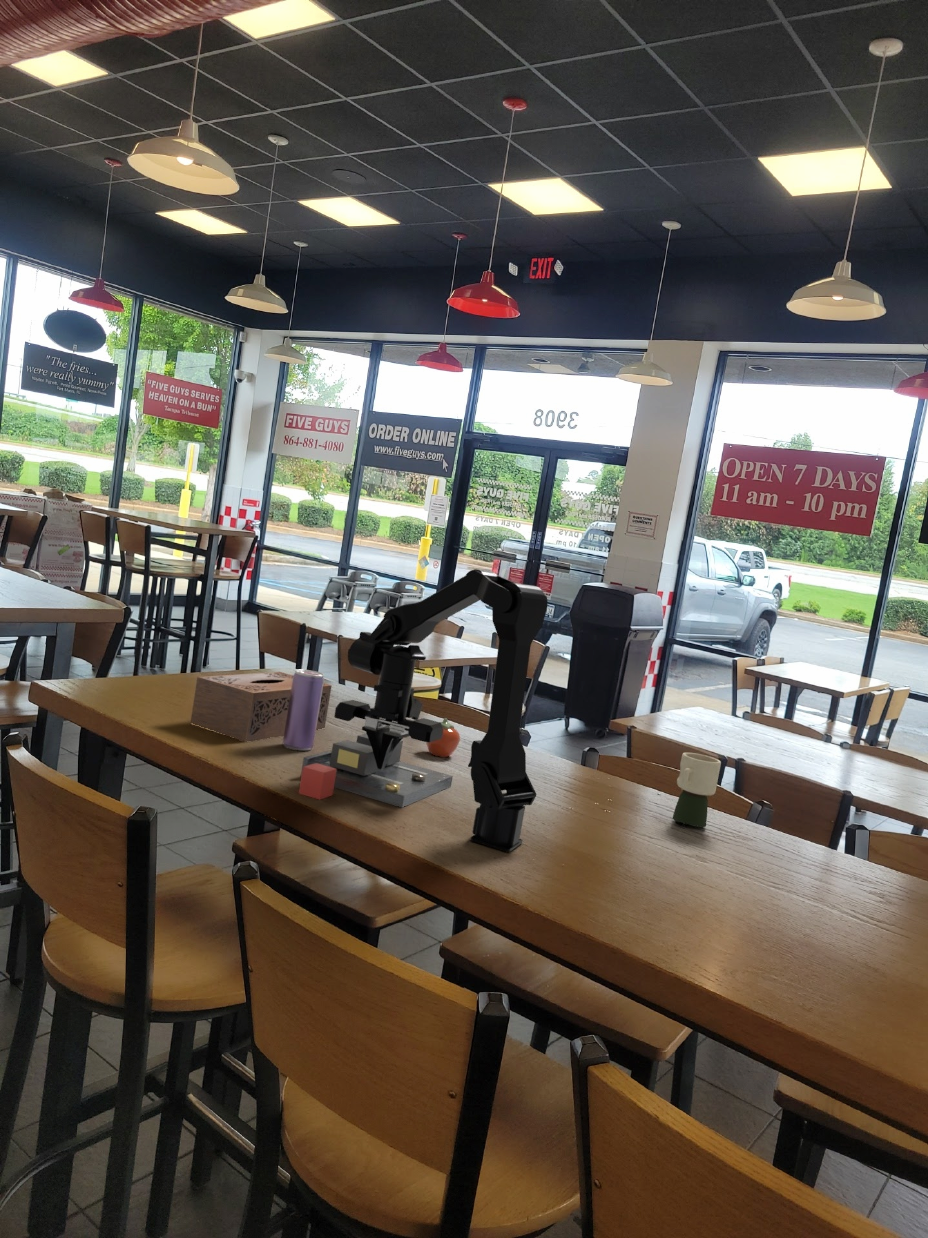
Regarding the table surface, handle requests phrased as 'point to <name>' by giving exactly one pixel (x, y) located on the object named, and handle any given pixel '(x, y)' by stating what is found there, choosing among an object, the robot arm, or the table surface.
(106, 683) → the table surface
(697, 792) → the character mug
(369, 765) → the block
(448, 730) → the tomato
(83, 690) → the table surface
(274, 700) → the tissue box cover
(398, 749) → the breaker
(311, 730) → the beverage can
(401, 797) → the breaker panel
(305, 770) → the cap
